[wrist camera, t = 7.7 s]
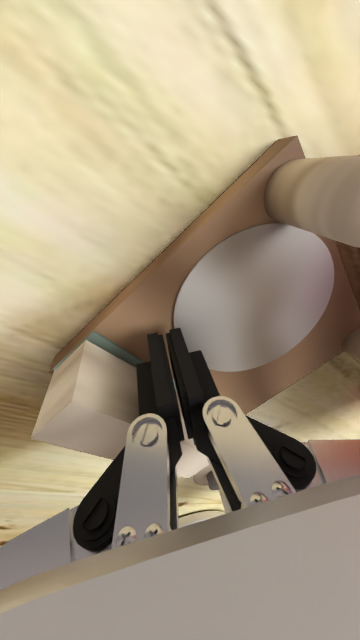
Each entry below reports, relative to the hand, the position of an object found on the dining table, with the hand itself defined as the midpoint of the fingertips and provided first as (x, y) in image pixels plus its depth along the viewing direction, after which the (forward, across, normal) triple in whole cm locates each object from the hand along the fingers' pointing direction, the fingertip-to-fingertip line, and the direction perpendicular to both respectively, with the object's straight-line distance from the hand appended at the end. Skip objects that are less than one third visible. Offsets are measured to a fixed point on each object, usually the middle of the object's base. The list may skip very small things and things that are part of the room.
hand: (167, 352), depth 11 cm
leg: (+1, +1, +5) cm, 5 cm away
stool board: (+2, -4, +2) cm, 5 cm away
